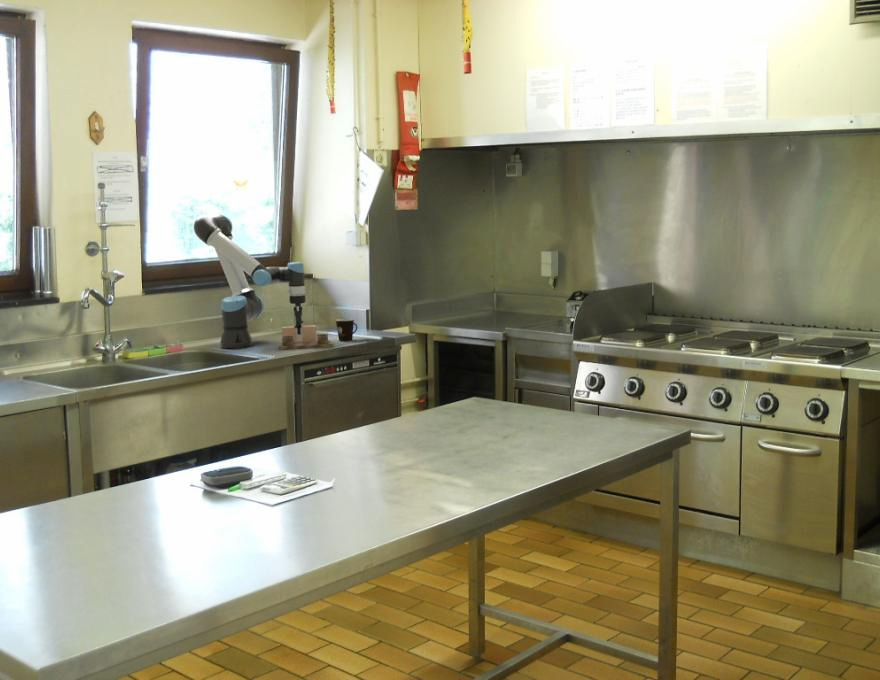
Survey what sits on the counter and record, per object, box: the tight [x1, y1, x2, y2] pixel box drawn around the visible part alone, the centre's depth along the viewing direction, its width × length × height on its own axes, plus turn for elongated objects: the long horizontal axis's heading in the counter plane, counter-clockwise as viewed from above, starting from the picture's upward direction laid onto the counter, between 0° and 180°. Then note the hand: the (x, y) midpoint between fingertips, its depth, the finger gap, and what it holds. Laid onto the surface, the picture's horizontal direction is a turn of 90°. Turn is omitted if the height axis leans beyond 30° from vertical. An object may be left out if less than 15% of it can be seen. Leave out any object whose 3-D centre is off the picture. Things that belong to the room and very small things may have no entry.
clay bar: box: [281, 324, 317, 342], centre depth 491 cm, size 16×3×8 cm, turn 97°
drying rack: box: [278, 333, 333, 351], centre depth 478 cm, size 24×12×5 cm, turn 97°
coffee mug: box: [335, 318, 358, 342], centre depth 492 cm, size 12×9×10 cm
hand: (299, 339), depth 491 cm, fingers open, 13 cm apart
